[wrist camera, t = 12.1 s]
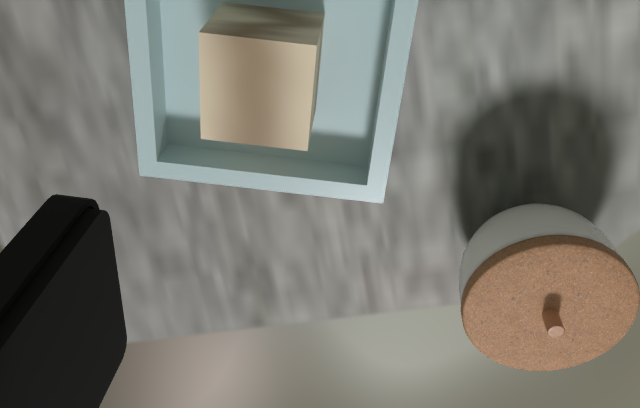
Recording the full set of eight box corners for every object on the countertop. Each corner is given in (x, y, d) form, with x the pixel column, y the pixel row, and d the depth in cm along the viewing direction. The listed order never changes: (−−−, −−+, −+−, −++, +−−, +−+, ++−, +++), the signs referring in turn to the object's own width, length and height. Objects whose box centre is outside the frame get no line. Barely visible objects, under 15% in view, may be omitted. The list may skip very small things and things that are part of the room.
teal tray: (423, -72, 33) (429, -62, 30) (382, 176, 42) (383, 203, 39) (138, -103, 33) (115, -96, 30) (155, 150, 42) (139, 175, 39)
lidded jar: (524, 148, 40) (562, 229, 32) (632, 230, 43) (691, 323, 35) (419, 249, 45) (429, 340, 37) (521, 316, 48) (551, 414, 40)
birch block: (324, 13, 35) (317, 45, 30) (315, 107, 38) (307, 151, 33) (223, 2, 35) (198, 32, 30) (223, 97, 38) (200, 138, 33)
